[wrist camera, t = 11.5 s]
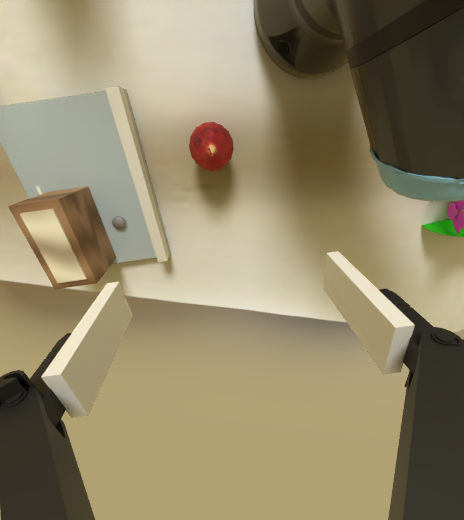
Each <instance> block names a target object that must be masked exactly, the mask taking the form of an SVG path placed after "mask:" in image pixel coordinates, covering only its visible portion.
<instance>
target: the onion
mask: <svg viewBox="0 0 464 520" xmlns="http://www.w3.org/2000/svg"><path fill="white" fill-rule="evenodd" d="M189 148H190V152H191V155H192V158H193V159H194V160H195V162H196V163H197V164H198V165H199V166H201V167H202V168H204V169H207V170H210V171H213V170H219V169H221V168H222V167H224V166H225V165H227V163H228V162H229V160H230V159H231V157H232V153H233V140H232V138H231V136H230V134H229V132H228V131H227V130H226V129H225V128H224V127H223V126H222V125H220V124H217V123H214V122H209V123H203V124H202V125H200V126H198V127H196V129H195V130H194V132H193V133H192V135H191V138H190V145H189Z"/></svg>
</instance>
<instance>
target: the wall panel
mask: <svg viewBox="0 0 464 520" xmlns="http://www.w3.org/2000/svg"><path fill="white" fill-rule="evenodd" d="M105 90H106V91H103V92H96V93H89V94H82V95H75V96H68V97H61V98H54V99H47V100H40V101H33V102H26V103H19V104H12V105H5V106H0V143H1V145H2V147H3V149H4V151H5V153H6V154H7V156H8V158H9V160H10V162H11V164H12V166H13V168H14V170H15V172H16V174H17V176H18V178H19V180H20V182H21V184H22V186H23V187H24V189H25V191H26V193H27V195H28V197H29V199H30V198H33V197H36V196H38V195H41V194H44V193H47V192H51V191H58V190H65V189H72V188H79V187H86V186H89V189H90V192H91V194H92V197H93V199H94V202H95V204H96V207H97V209H98V212H99V215H100V217H101V220H102V222H103V225H104V227H105V230H106V232H107V235H108V237H109V240H110V243H111V245H112V248H113V250H114V253H115V255H116V259H115V260H114V261H113V263H112V264H114V263H121V262H128V261H135V260H142V259H149V258H155V257H157V260H158V262H163V261H168V258H169V256H170V253H171V252H170V249H169V245H168V241H167V238H166V234H165V230H164V226H163V223H162V219H161V215H160V212H159V208H158V204H157V201H156V197H155V193H154V190H153V186H152V182H151V179H150V175H149V171H148V168H147V164H146V160H145V157H144V153H143V149H142V146H141V142H140V138H139V135H138V131H137V127H136V124H135V120H134V116H133V113H132V109H131V105H130V101H129V98H128V94H127V90H125V89H123V88H121V87H119V86H115V87H108V88H105Z"/></svg>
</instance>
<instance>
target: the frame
mask: <svg viewBox="0 0 464 520" xmlns="http://www.w3.org/2000/svg"><path fill="white" fill-rule="evenodd" d="M8 207H9V209H10V211H11V212H12V214H13V216H14V218H15V219H16V221H17V223H18V225H19V226H20V228H21V230H22V232H23V234H24V235H25V237H26V239H27V241H28V242H29V244H30V246H31V248H32V249H33V251H34V253H35V255H36V257H37V258H38V260H39V262H40V264H41V265H42V267H43V269H44V271H45V273H46V274H47V276H48V278H49V280H50V281H51V283H52V285H53V287H54V288H55V289H59V288H66V287H73V286H80V285H87V284H94V283H97V282H98V281H99V280H100V278H101V277H102V276H103V274H104V273H105V272H106V270H107V269H108V268H109V267H110V265H111V264H112V263H113V261H114V260H115V259H116V255H115V253H114V250H113V248H112V245H111V243H110V240H109V237H108V235H107V232H106V230H105V227H104V225H103V222H102V220H101V217H100V215H99V212H98V209H97V207H96V204H95V202H94V199H93V197H92V194H91V192H90V189H89V186H86V187H79V188H72V189H65V190H58V191H51V192H47V193H44V194H41V195H38V196H36V197H33V198H30V199H27V200H25V201H22V202H19V203H16V204H14V205H11V206H8Z"/></svg>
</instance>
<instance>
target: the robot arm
mask: <svg viewBox="0 0 464 520" xmlns="http://www.w3.org/2000/svg"><path fill="white" fill-rule="evenodd" d="M254 14H255V21H256V26H257V30H258V34H259V37H260V40H261V42H262V44H263V46H264V48H265V50H266V52H267V53H268V55H269V56H270V58H271V59H272V60H273V61H274V62H275V64H276V65H278V66H279V67H280V68H281V69H282V70H284V71H285V72H287V73H289V74H291V75H294V76H297V77H302V78H314V77H319V76H323V75H325V74H328V73H330V72H332V71H334V70H336V69H338V68H340V67H341V66H343V65H344V64H346V63H347V62H348V61H349V65H350V70H351V73H352V77H353V81H354V85H355V89H356V92H357V96H358V100H359V104H360V108H361V111H362V115H363V119H364V123H365V127H366V130H367V134H368V138H369V142H370V153H371V156H372V157H373V159H374V160H375V161H376V163H377V166H378V169H379V172H380V175H381V178H382V180H383V182H384V183H385V185H386V186H387V187H389V188H391V189H392V190H393V191H395V192H396V193H398V194H400V195H402V196H405V197H408V198H412V199H417V200H424V201H462V200H464V0H254ZM324 290H325V291H326V293H327V294H328V296H329V297H330V298H331V300H332V301H333V303H334V304H335V306H336V307H337V309H338V310H339V311H340V313H341V314H342V316H343V317H344V319H345V320H346V321H347V323H348V324H349V326H350V327H351V329H352V330H353V331H354V333H355V334H356V336H357V337H358V338H359V340H360V341H361V343H362V344H363V346H364V347H365V349H366V350H367V352H368V353H369V354H370V356H371V357H372V358H373V360H374V362H375V363H376V364H377V366H378V367H379V369H380V370H381V372H382V373H383V374H389V373H397V372H401V369H402V366H403V363H405V365H406V366H407V367H408V368H409V370H410V371H409V375H408V378H407V381H406V384H405V387H407V389H406V396H405V403H404V410H403V417H402V425H401V432H400V439H399V446H398V453H397V461H396V468H395V475H394V482H393V490H392V497H391V504H390V511H389V519H388V520H464V340H462V339H461V338H460V337H459V336H458V335H456V334H454V333H453V332H451V331H448V330H446V329H443V328H437V327H433V326H432V325H431V324H430V323H429V322H427V321H426V320H425V319H424V318H423V317H422V316H421V315H420V314H418V313H417V312H416V311H415V310H414V309H413V308H412V307H411V308H410V306H409V305H408V304H407V303H406V302H404V300H403V299H402V298H400V297H399V296H398V295H397V294H396V293H394V292H392V291H390V290H388V289H380V290H378V289H377V288H376V287H375V286H374V285H373V284H372V283H371V282H370V281H369V280H368V279H367V278H366V277H365V276H363V275H362V274H361V273H360V272H359V271H358V270H357V269H356V268H355V267H354V266H353V265H352V264H351V263H350V262H349V261H348V260H347V259H346V258H345V257H344V256H343V255H342V254H341V253H340V252H339V251H337V252H329V253H326V264H325V279H324ZM132 316H133V315H132V312H131V310H130V308H129V305H128V302H127V300H126V297H125V295H124V293H123V290H122V288H121V285H120V283H119V282H113V283H107V284H106V285H105V287H104V288H103V290H102V291H101V293H100V294H99V295H98V297H97V298H96V300H95V301H94V303H93V304H92V306H91V307H90V308H89V310H88V311H87V313H86V314H85V315H84V317H83V318H82V320H81V321H80V322H79V324H78V325H77V327H76V328H75V330H74V331H73V333H68V334H66V335H65V336H64V337H63V338H61V339H60V340H59V341H58V342H57V343H56V345H55V346H54V347H53V349H52V351H51V352H50V353H49V354H48V356H47V357H46V359H44V361H43V362H42V364H41V365H40V366H39V368H38V369H37V370H36V372H35V373H34V374H33V376H32V377H31V378H30V379H29V378H28V376H27V375H26V374H25V373H24V371H20V370H17V371H13V372H10V373H7V374H5V375H3V376H1V377H0V510H1V520H95V518H94V515H93V512H92V508H91V505H90V503H89V500H88V496H87V493H86V490H85V487H84V484H83V480H82V477H81V474H80V471H79V468H78V465H77V462H76V459H75V456H74V453H73V449H72V446H71V443H70V440H69V437H68V434H67V431H66V428H65V424H64V422H63V421H62V420H61V418H62V416H63V414H64V412H65V410H66V411H67V412H68V414H69V415H70V416H71V418H73V417H81V416H88V415H89V414H90V411H91V409H92V407H93V405H94V402H95V400H96V398H97V395H98V393H99V391H100V389H101V386H102V384H103V382H104V380H105V377H106V375H107V373H108V370H109V368H110V366H111V364H112V361H113V359H114V357H115V354H116V352H117V350H118V348H119V346H120V343H121V341H122V339H123V336H124V334H125V332H126V330H127V327H128V325H129V323H130V320H131V318H132Z"/></svg>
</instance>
